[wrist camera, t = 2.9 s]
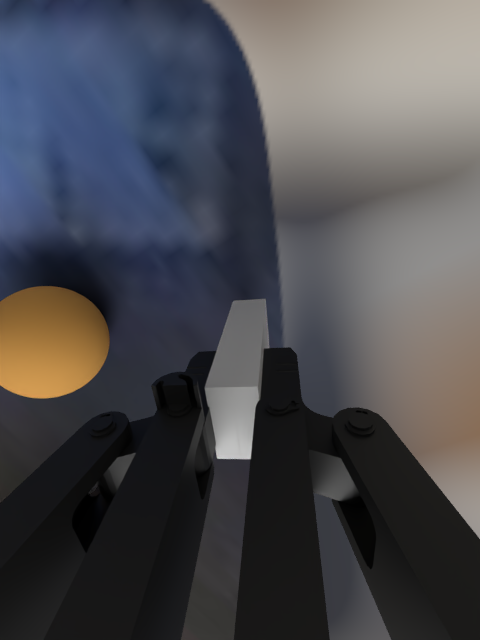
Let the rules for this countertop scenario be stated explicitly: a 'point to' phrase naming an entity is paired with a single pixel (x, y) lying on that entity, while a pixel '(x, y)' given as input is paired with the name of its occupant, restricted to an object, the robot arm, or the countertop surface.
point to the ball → (50, 341)
